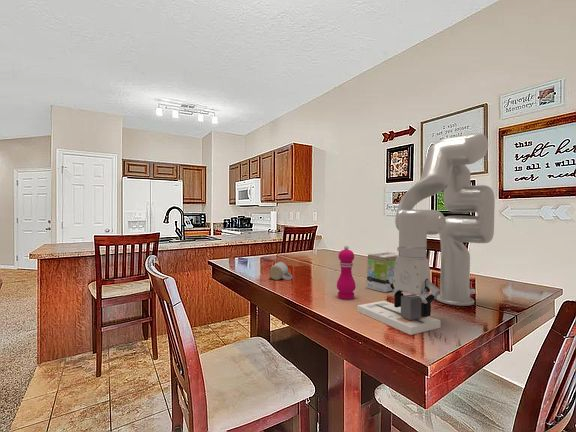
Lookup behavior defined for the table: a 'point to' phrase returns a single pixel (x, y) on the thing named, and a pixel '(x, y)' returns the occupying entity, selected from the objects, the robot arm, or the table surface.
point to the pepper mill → (346, 275)
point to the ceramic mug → (279, 271)
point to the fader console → (397, 318)
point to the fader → (411, 307)
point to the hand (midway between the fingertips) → (411, 311)
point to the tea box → (380, 271)
